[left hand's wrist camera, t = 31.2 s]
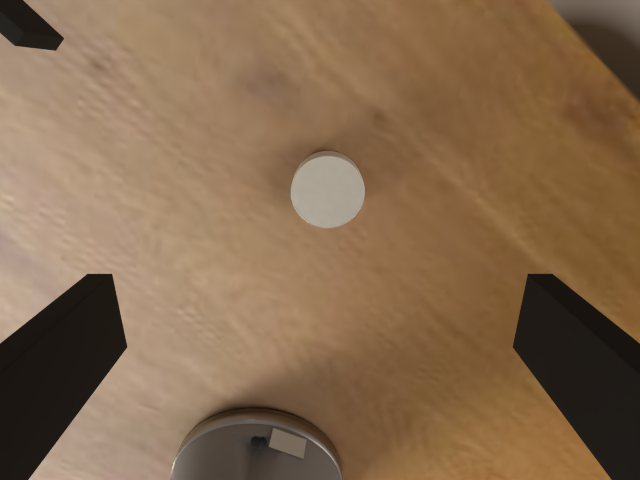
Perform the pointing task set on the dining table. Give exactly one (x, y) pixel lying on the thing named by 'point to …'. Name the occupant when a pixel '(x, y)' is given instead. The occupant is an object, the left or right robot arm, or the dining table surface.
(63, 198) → the dining table surface
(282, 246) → the dining table surface
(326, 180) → the cap
